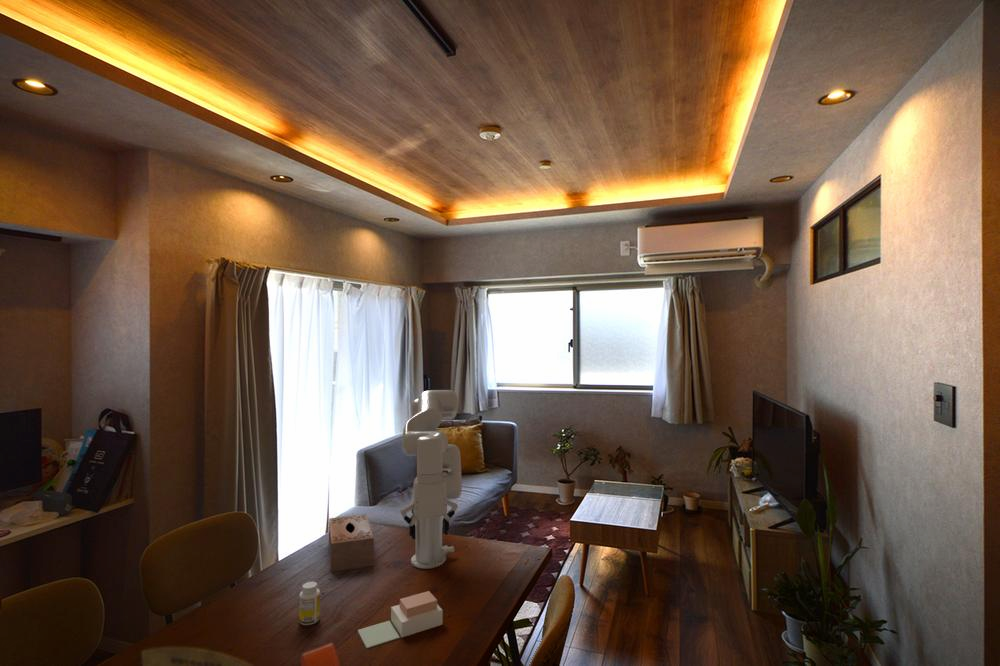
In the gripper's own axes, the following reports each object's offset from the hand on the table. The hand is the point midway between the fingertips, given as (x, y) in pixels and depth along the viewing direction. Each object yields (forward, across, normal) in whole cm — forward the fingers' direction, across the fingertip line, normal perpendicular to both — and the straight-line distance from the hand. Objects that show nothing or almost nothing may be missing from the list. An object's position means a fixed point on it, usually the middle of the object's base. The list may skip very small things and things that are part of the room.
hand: (429, 535), depth 146 cm
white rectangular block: (+22, +5, +5) cm, 23 cm away
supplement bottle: (+22, +33, -7) cm, 41 cm away
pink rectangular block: (+18, +4, +5) cm, 19 cm away
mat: (+22, +16, +7) cm, 28 cm away
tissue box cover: (+22, +19, -49) cm, 57 cm away
